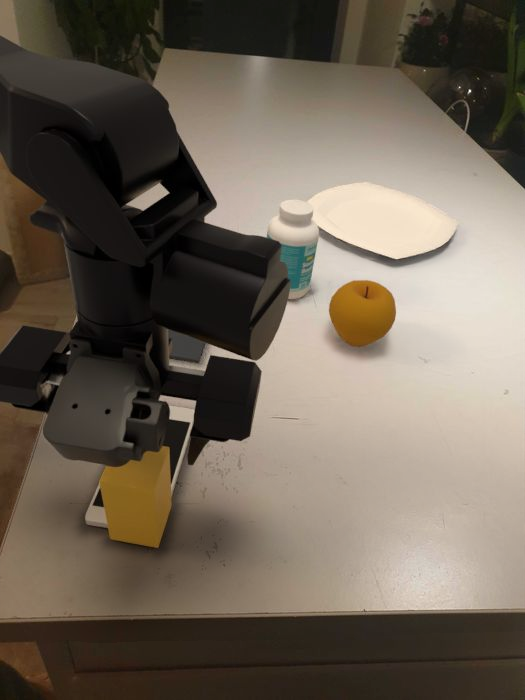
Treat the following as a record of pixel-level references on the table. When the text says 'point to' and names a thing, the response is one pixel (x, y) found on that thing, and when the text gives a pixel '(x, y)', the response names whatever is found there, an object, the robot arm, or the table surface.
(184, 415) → the smartphone
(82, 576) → the table surface
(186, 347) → the mat
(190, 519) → the table surface
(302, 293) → the pill bottle
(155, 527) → the block
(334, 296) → the apple
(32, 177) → the robot arm
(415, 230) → the plate
